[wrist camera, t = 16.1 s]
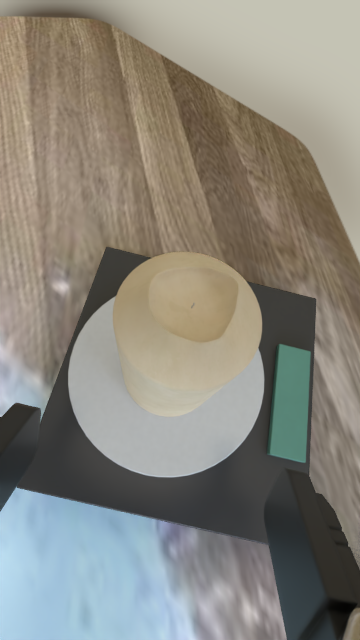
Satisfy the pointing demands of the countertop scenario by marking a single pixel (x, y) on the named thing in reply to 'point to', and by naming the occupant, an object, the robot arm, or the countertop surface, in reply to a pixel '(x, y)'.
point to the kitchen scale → (178, 422)
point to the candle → (183, 330)
